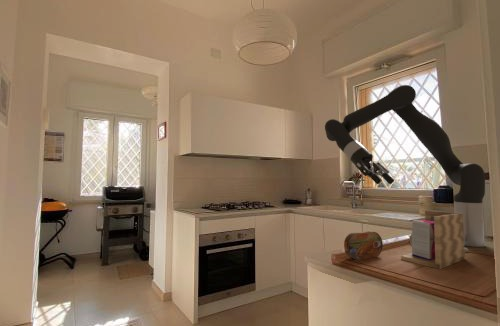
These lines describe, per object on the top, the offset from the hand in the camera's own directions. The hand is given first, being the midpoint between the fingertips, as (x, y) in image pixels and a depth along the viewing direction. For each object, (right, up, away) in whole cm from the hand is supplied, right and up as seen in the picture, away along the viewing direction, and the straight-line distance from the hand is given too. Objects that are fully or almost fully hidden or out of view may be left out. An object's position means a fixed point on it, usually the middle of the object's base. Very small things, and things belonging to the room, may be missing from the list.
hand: (386, 182), depth 99 cm
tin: (-13, -24, -10) cm, 29 cm away
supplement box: (+6, -23, -14) cm, 27 cm away
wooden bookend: (+10, -24, -11) cm, 29 cm away
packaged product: (+23, -26, +7) cm, 36 cm away
